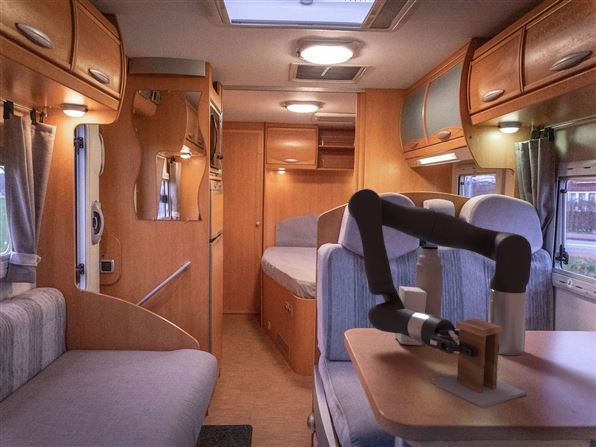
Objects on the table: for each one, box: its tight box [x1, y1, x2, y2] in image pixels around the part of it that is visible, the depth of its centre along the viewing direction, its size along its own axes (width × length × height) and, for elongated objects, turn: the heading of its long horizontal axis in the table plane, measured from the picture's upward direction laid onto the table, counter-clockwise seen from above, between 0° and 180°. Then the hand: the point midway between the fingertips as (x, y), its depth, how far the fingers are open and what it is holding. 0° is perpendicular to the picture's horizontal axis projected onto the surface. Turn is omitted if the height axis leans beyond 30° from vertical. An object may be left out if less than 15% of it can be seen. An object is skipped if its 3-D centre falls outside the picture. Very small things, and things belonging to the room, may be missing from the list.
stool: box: [456, 318, 502, 393], centre depth 100 cm, size 6×7×14 cm
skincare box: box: [394, 285, 427, 347], centre depth 132 cm, size 8×7×16 cm
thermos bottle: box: [414, 244, 444, 318], centre depth 139 cm, size 8×8×28 cm
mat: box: [430, 373, 526, 409], centre depth 101 cm, size 14×14×1 cm
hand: (487, 350), depth 98 cm, fingers open, 6 cm apart
